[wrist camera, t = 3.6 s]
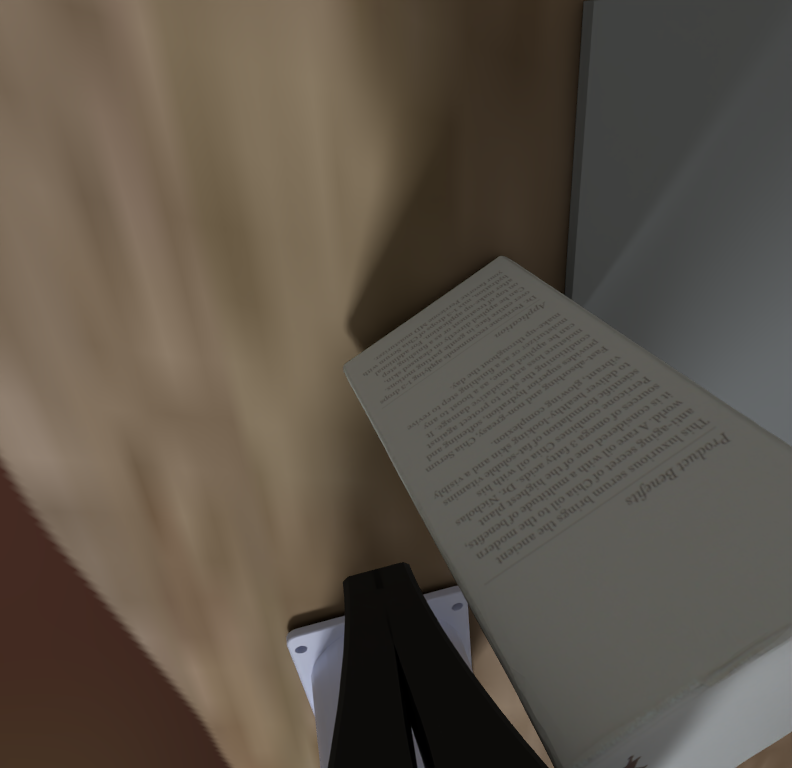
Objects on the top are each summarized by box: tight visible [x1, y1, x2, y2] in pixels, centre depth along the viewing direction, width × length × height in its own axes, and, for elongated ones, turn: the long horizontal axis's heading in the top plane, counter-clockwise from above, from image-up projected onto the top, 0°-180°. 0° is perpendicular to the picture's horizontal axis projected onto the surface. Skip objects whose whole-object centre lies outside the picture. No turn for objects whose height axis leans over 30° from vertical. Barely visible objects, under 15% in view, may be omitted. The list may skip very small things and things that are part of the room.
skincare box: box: [343, 256, 792, 768], centre depth 14 cm, size 6×4×12 cm
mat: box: [565, 0, 792, 446], centre depth 20 cm, size 18×13×1 cm
